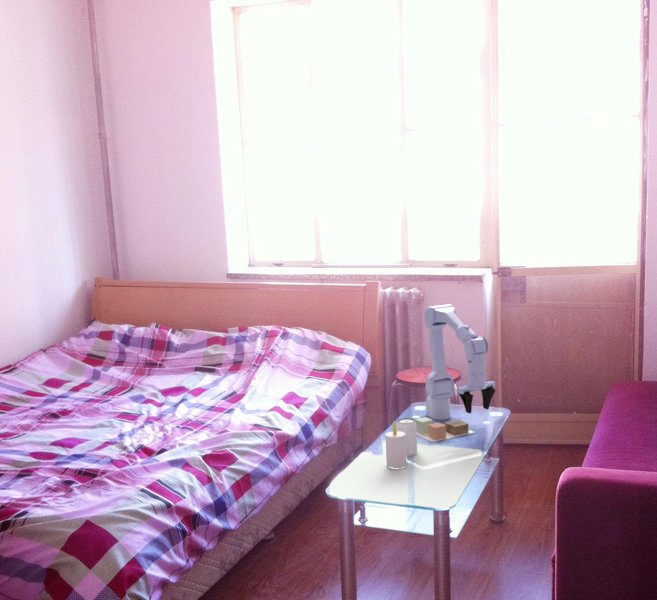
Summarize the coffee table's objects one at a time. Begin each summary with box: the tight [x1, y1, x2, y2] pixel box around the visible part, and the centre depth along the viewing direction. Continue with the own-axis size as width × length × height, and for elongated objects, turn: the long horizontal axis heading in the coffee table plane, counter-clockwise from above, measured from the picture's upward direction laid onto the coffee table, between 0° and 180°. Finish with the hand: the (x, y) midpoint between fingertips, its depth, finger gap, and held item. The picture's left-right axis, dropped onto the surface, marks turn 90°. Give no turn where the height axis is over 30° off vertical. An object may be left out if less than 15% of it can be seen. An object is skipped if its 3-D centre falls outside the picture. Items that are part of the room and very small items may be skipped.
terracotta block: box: [428, 422, 446, 441], centre depth 268 cm, size 4×4×4 cm
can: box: [396, 417, 418, 457], centre depth 253 cm, size 6×6×12 cm
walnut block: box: [444, 419, 470, 435], centre depth 273 cm, size 6×6×3 cm
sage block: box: [414, 416, 434, 434], centre depth 275 cm, size 4×4×4 cm
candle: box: [384, 420, 407, 468], centre depth 244 cm, size 6×6×15 cm
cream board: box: [416, 423, 475, 443], centre depth 274 cm, size 14×18×1 cm
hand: (477, 410), depth 267 cm, fingers open, 7 cm apart
